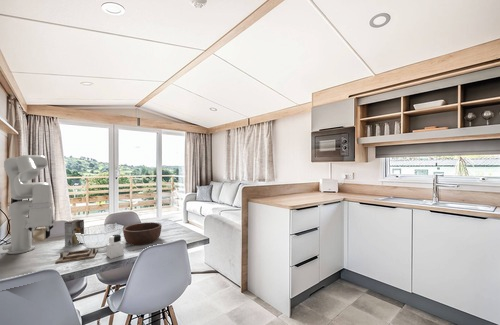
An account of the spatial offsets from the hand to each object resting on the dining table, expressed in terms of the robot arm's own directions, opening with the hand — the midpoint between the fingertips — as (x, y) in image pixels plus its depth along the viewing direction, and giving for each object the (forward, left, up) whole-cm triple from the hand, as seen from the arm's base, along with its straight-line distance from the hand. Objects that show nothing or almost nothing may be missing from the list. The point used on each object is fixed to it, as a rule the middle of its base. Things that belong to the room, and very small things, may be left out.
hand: (41, 238), depth 130 cm
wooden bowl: (+51, +18, -14) cm, 56 cm away
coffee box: (+8, +31, -14) cm, 35 cm away
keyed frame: (+16, +3, -14) cm, 22 cm away
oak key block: (0, 0, -1) cm, 1 cm away
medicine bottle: (+36, -5, -14) cm, 39 cm away
